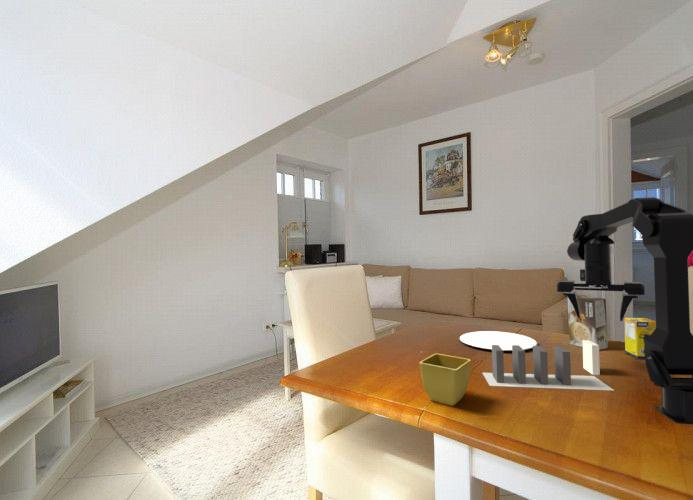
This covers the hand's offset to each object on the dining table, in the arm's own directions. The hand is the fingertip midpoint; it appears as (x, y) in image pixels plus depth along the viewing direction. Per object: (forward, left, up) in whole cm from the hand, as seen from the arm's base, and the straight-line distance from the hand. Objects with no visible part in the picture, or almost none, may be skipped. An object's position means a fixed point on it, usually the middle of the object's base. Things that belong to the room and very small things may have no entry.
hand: (599, 319), depth 94 cm
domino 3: (-11, +19, -13) cm, 25 cm away
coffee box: (+23, -7, -14) cm, 28 cm away
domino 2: (-11, +24, -13) cm, 29 cm away
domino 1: (-11, +29, -13) cm, 33 cm away
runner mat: (-11, +18, -14) cm, 25 cm away
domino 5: (-3, +4, -14) cm, 14 cm away
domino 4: (-11, +14, -13) cm, 22 cm away
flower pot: (-24, +43, -14) cm, 51 cm away
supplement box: (+13, -17, -14) cm, 26 cm away
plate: (+25, +21, -14) cm, 35 cm away
